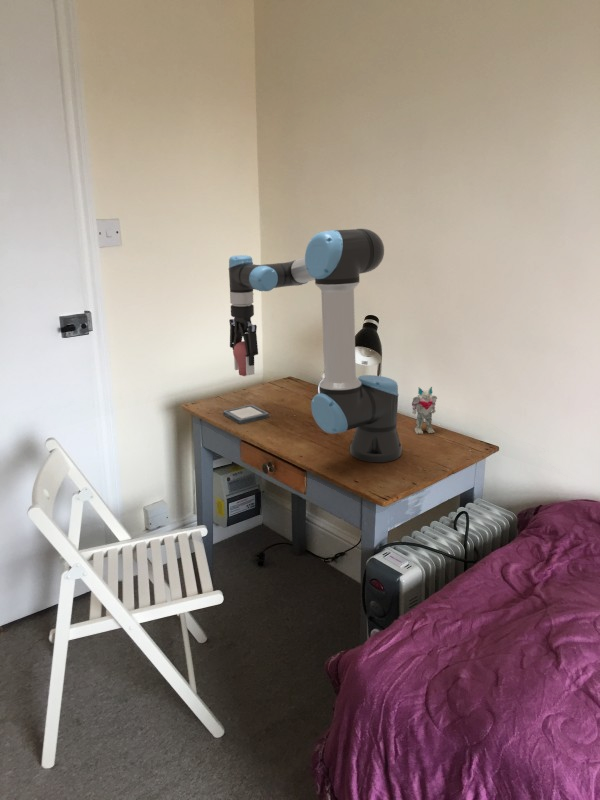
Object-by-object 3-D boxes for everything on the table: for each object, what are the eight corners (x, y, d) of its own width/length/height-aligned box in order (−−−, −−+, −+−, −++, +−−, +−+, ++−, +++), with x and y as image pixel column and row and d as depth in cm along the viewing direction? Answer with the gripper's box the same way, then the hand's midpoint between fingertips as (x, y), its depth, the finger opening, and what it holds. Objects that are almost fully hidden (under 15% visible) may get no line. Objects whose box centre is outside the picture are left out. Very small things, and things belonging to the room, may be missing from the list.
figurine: (406, 432, 209) (408, 387, 204) (416, 424, 215) (418, 381, 210) (430, 436, 205) (433, 391, 200) (439, 429, 211) (442, 385, 206)
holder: (269, 417, 223) (269, 413, 222) (240, 424, 216) (239, 420, 216) (251, 408, 232) (251, 404, 231) (223, 415, 225) (223, 410, 225)
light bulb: (252, 379, 215) (250, 344, 212) (231, 378, 217) (229, 343, 213) (257, 373, 222) (256, 339, 218) (237, 372, 223) (236, 338, 220)
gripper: (268, 307, 206) (269, 376, 213) (236, 298, 221) (239, 363, 229) (247, 310, 202) (250, 380, 209) (217, 301, 217) (220, 367, 225)
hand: (244, 371), depth 219 cm, fingers closed on light bulb, 7 cm apart
